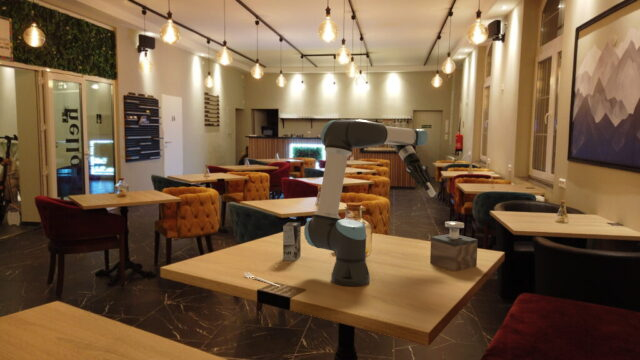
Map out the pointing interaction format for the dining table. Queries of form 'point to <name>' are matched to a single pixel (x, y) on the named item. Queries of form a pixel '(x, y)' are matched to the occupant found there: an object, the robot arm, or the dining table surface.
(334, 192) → the robot arm
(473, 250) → the socket block
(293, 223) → the coffee box
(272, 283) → the fork
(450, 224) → the plunger
